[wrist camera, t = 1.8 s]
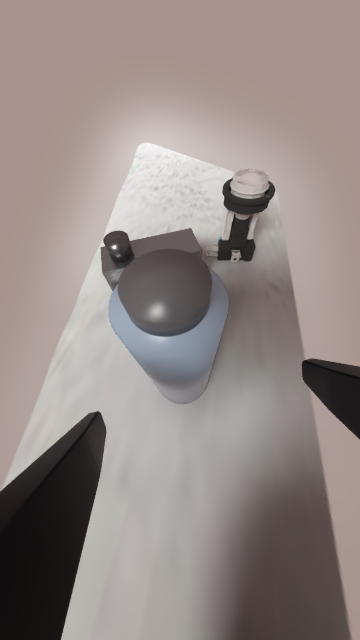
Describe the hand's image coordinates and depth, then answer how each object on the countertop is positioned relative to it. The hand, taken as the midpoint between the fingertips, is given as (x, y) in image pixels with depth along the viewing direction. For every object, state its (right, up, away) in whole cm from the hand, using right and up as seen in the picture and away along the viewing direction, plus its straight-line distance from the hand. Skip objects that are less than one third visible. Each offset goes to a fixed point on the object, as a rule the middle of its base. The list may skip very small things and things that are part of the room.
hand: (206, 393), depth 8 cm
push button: (+6, +12, +20) cm, 24 cm away
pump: (-1, -3, +11) cm, 12 cm away
